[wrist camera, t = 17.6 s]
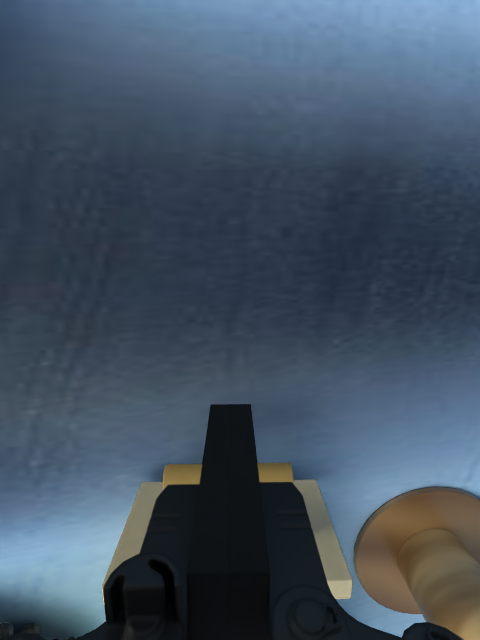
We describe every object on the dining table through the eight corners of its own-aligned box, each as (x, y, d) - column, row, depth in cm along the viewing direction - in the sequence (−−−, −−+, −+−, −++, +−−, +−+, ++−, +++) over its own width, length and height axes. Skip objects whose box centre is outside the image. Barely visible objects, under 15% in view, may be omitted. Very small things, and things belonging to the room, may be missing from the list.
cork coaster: (359, 487, 25) (362, 492, 25) (512, 485, 25) (518, 489, 25) (347, 609, 28) (350, 616, 27) (486, 606, 28) (491, 612, 28)
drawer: (137, 423, 22) (92, 507, 15) (319, 421, 23) (360, 502, 16) (153, 646, 27) (124, 794, 20) (306, 642, 27) (332, 785, 20)
